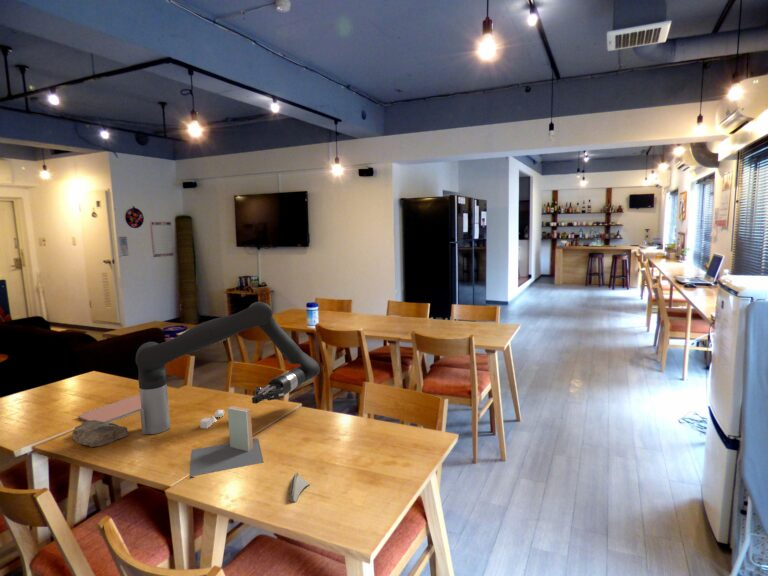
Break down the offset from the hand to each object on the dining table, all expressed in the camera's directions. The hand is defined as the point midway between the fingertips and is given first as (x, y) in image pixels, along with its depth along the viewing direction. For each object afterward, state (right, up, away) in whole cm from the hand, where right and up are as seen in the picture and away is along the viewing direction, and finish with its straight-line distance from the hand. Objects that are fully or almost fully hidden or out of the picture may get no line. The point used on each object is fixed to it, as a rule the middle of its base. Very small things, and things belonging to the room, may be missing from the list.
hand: (253, 400), depth 160 cm
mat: (-6, -16, -10) cm, 20 cm away
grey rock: (-60, -15, +8) cm, 62 cm away
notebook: (-64, -12, +31) cm, 73 cm away
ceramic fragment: (+20, -19, -28) cm, 39 cm away
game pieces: (-21, -13, +18) cm, 31 cm away
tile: (-3, -15, -4) cm, 16 cm away
